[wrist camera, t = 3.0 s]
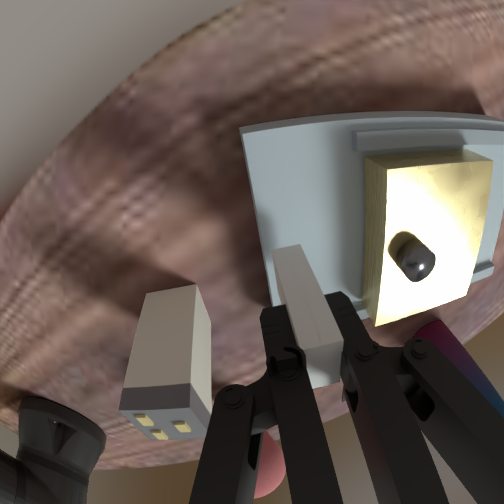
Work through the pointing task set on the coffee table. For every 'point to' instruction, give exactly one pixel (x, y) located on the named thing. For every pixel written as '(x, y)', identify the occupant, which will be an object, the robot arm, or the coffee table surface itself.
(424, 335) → the cup
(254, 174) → the socket board
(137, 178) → the coffee table surface
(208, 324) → the plug
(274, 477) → the light bulb
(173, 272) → the coffee table surface
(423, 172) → the panel
